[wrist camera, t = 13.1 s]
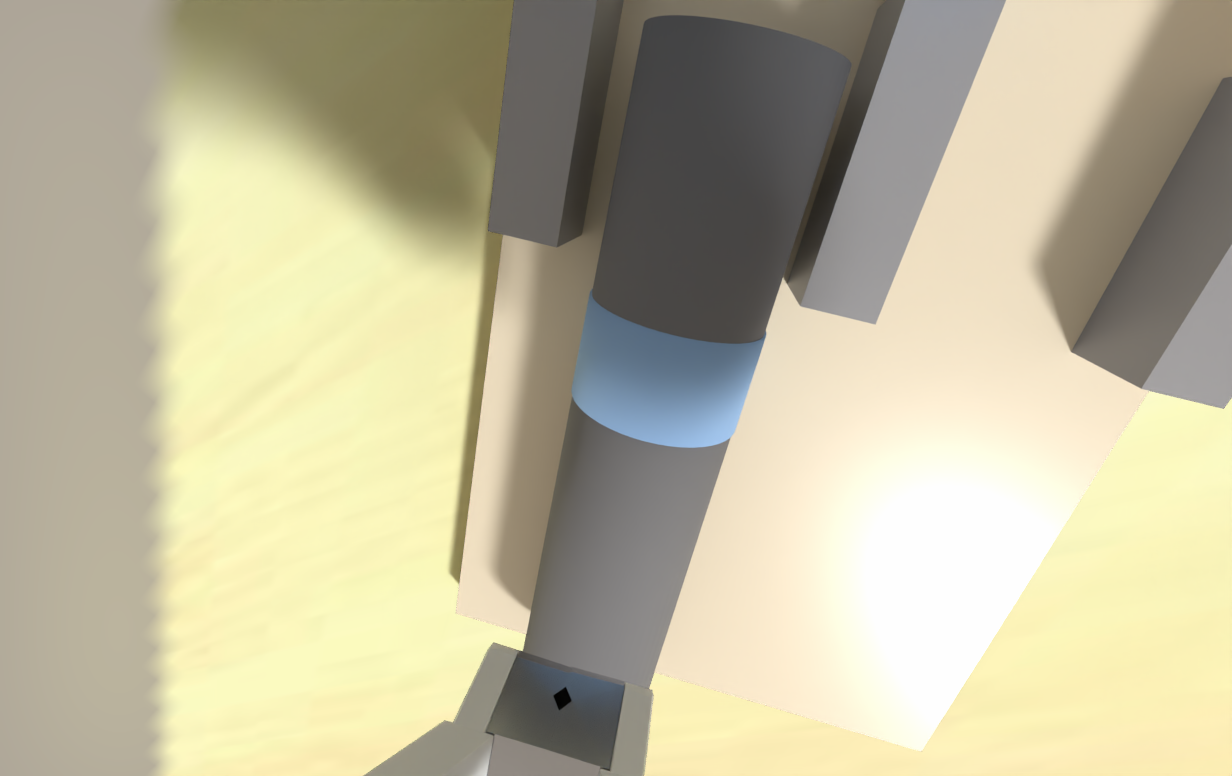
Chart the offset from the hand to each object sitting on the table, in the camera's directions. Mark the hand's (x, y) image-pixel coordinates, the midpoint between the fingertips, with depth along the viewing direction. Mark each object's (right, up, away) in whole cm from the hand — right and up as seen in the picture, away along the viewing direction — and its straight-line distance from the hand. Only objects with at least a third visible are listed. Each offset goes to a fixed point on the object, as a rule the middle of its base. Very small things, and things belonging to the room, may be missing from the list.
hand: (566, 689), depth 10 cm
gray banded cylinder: (+2, +5, +6) cm, 8 cm away
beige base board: (+6, +5, +6) cm, 10 cm away
